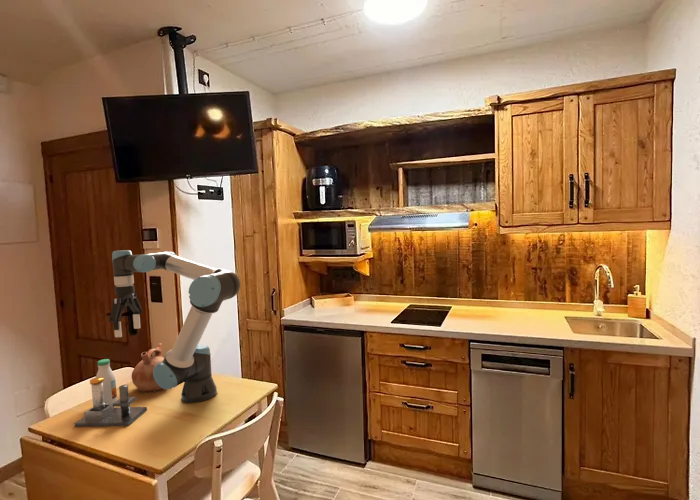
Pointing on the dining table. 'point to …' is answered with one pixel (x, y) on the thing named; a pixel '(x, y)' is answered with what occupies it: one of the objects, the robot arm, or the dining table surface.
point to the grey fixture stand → (113, 412)
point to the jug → (147, 371)
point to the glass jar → (98, 393)
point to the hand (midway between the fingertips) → (128, 332)
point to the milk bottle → (107, 381)
